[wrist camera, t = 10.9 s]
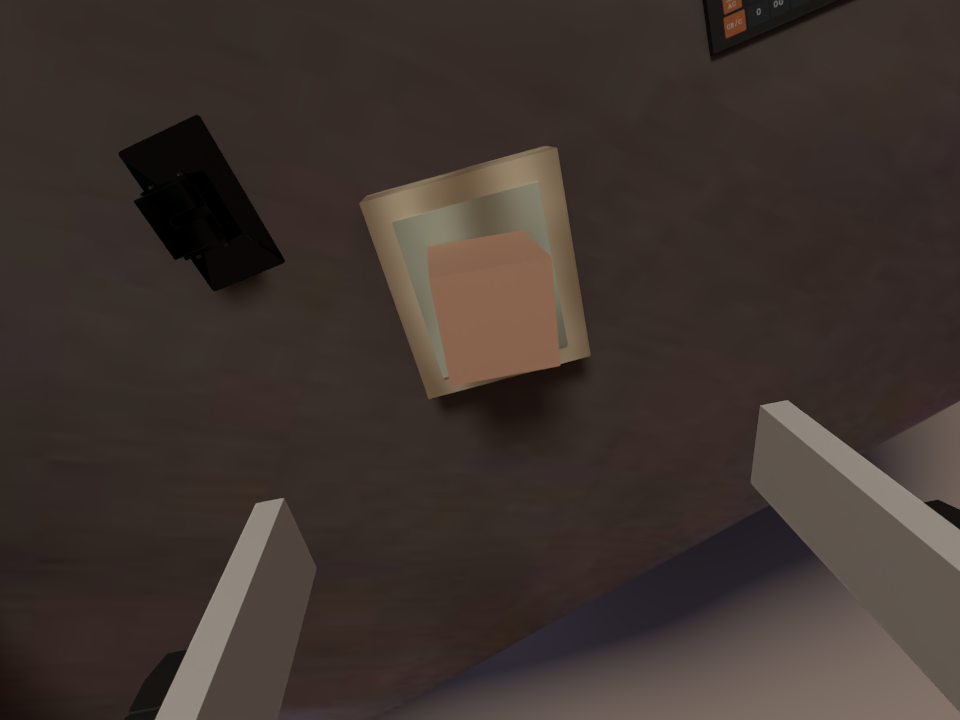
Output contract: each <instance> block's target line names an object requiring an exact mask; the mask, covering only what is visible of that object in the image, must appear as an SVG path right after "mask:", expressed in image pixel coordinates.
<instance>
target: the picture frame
mask: <svg viewBox="0 0 960 720" xmlns="http://www.w3.org/2000/svg"><path fill="white" fill-rule="evenodd" d="M359 204H360V206H361V209H362V212H363V215H364V218H365V221H366V223H367V226H368V229H369V232H370V235H371V237H372V240H373V243H374V246H375V249H376V252H377V254H378V257H379V260H380V263H381V266H382V268H383V271H384V274H385V277H386V280H387V282H388V285H389V288H390V291H391V294H392V297H393V299H394V302H395V305H396V308H397V311H398V313H399V316H400V319H401V322H402V325H403V327H404V330H405V333H406V336H407V339H408V342H409V344H410V347H411V350H412V353H413V356H414V358H415V361H416V364H417V367H418V370H419V372H420V375H421V378H422V381H423V384H424V387H425V389H426V392H427V395H428V398H429V399H431V398H435V397H439V396H443V395H446V394H450V393H454V392H458V391H461V390H465V389H469V388H473V387H476V386H480V385H484V384H488V383H491V382H495V381H499V380H502V379H506V378H510V377H514V376H517V375H521V374H525V373H529V372H525V373H520V374H515V375H509V376H504V377H498V378H493V379H488V380H482V381H477V382H472V383H466V384H461V385H456V386H451V385H450V380H449V375H448V370H447V365H446V360H445V356H444V351H443V346H442V341H441V336H440V331H439V326H438V321H437V317H436V312H435V307H434V302H433V297H432V292H431V287H430V283H429V274H428V251H427V247H428V246H434V245H440V244H445V243H451V242H457V241H462V240H468V239H474V238H479V237H485V236H491V235H496V234H502V233H508V232H513V231H519V230H524V231H525V232H526V233H527V234H529V235H530V236H531V237H532V238H533V239H534V240H535V241H536V242H537V243H538V244H539V245H540V246H541V247H542V248H543V249H544V250H545V251H546V252H547V253H548V254H549V255H550V256H551V257H552V269H553V281H554V293H555V305H556V317H557V330H558V342H559V354H560V364H562V363H566V362H570V361H573V360H577V359H581V358H585V357H588V356H591V355H590V349H589V343H588V337H587V330H586V324H585V318H584V312H583V306H582V299H581V293H580V287H579V281H578V274H577V268H576V262H575V256H574V250H573V243H572V237H571V231H570V225H569V219H568V212H567V206H566V200H565V194H564V188H563V181H562V175H561V169H560V163H559V156H558V150H557V148H555V147H548V146H542V147H539V148H535V149H532V150H528V151H524V152H521V153H517V154H514V155H510V156H507V157H503V158H500V159H496V160H492V161H489V162H485V163H482V164H478V165H475V166H471V167H467V168H464V169H460V170H457V171H453V172H450V173H446V174H443V175H439V176H435V177H432V178H428V179H425V180H421V181H418V182H414V183H410V184H407V185H403V186H400V187H396V188H393V189H389V190H386V191H382V192H378V193H375V194H371V195H368V196H366V197H365V198H364V199H363V200H362V201H361V202H360V203H359ZM531 372H532V371H531Z"/></svg>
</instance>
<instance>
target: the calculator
mask: <svg viewBox="0 0 960 720" xmlns="http://www.w3.org/2000/svg"><path fill="white" fill-rule="evenodd" d="M835 1H838V0H703V6H704V13H705V21H706V28H707V35H708V43H709V50H710V55H713V54H716V53H718V52H720V51H722V50H725V49H727V48H729V47H732V46H734V45H736V44H739V43H741V42H743V41H745V40H748V39H750V38H752V37H755V36H757V35H759V34H762V33H764V32H766V31H768V30H771V29H773V28H775V27H778V26H780V25H782V24H785V23H787V22H789V21H792V20H794V19H796V18H798V17H801V16H803V15H805V14H808V13H810V12H812V11H815V10H817V9H819V8H821V7H824V6H826V5H828V4H831V3H833V2H835Z"/></svg>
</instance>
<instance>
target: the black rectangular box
mask: <svg viewBox="0 0 960 720" xmlns="http://www.w3.org/2000/svg"><path fill="white" fill-rule="evenodd" d="M119 156H120V157H121V159H122V160H123V162H124V163H125V165H126V166H127V168H128V169H129V170H130V172H131V173H132V175H133V176H134V178H135V179H136V181H137V182H138V183H139V185H140V186H141V188H142V189H143V191H144V192H143V193H141V194H140V196H141V198H139V199H137V200H134V203H135V204H136V205H137V207H138V208H139V210H140V211H141V213H142V214H143V215H144V217H145V218H146V220H147V221H148V222H149V224H150V225H151V227H152V228H153V230H154V231H155V232H156V234H157V235H158V237H159V238H160V239H161V241H162V242H163V244H164V245H165V247H166V248H167V249H168V251H169V252H170V254H171V255H172V256H173V258H174V259H175V260H177V259H179V258H182V257H184V259H185V260H188V259H190V258H191V260H192V261H193V263H194V264H195V266H196V267H197V268H198V270H199V271H200V273H201V274H202V276H203V277H204V279H205V280H206V281H207V283H208V284H209V286H210V287H211V289H212V290H213V291H218V290H220V289H222V288H225V287H227V286H230V285H232V284H234V283H237V282H239V281H242V280H244V279H246V278H249V277H251V276H254V275H256V274H259V273H261V272H263V271H266V270H268V269H271V268H273V267H275V266H278V265H280V264H283V263H284V262H285V260H284V258H283V256H282V255H281V253H280V251H279V250H278V248H277V246H276V245H275V243H274V241H273V239H272V238H271V236H270V234H269V233H268V231H267V229H266V228H265V226H264V224H263V223H262V221H261V219H260V217H259V216H258V214H257V212H256V211H255V209H254V207H253V206H252V204H251V202H250V200H249V199H248V197H247V195H246V194H245V192H244V190H243V189H242V187H241V185H240V183H239V182H238V180H237V178H236V177H235V175H234V173H233V172H232V170H231V168H230V166H229V165H228V163H227V161H226V160H225V158H224V156H223V155H222V153H221V151H220V150H219V148H218V146H217V144H216V143H215V141H214V139H213V138H212V136H211V134H210V133H209V131H208V129H207V127H206V126H205V124H204V122H203V121H202V119H201V117H200V116H198V115H195V116H193V117H191V118H189V119H187V120H184V121H182V122H180V123H178V124H176V125H174V126H172V127H170V128H168V129H166V130H164V131H161V132H159V133H157V134H155V135H153V136H151V137H149V138H147V139H145V140H143V141H141V142H139V143H136V144H134V145H132V146H130V147H128V148H126V149H124V150H122V151H120V152H119Z"/></svg>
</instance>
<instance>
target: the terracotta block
mask: <svg viewBox="0 0 960 720" xmlns="http://www.w3.org/2000/svg"><path fill="white" fill-rule="evenodd" d="M427 251H428V274H429V283H430V287H431V292H432V297H433V302H434V307H435V312H436V317H437V321H438V326H439V331H440V336H441V341H442V346H443V351H444V356H445V360H446V365H447V370H448V375H449V380H450V385H451V386H456V385H461V384H466V383H472V382H477V381H482V380H488V379H493V378H498V377H504V376H509V375H515V374H520V373H525V372H531V371H536V370H541V369H547V368H552V367H558V366H560V354H559V342H558V330H557V317H556V305H555V293H554V281H553V269H552V257H551V256H550V255H549V254H548V253H547V252H546V251H545V250H544V249H543V248H542V247H541V246H540V245H539V244H538V243H537V242H536V241H535V240H534V239H533V238H532V237H531V236H530V235H529V234H527V233H526V232H525V231H524V230H519V231H513V232H508V233H502V234H496V235H491V236H485V237H479V238H474V239H468V240H462V241H457V242H451V243H445V244H440V245H434V246H428V247H427Z"/></svg>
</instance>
